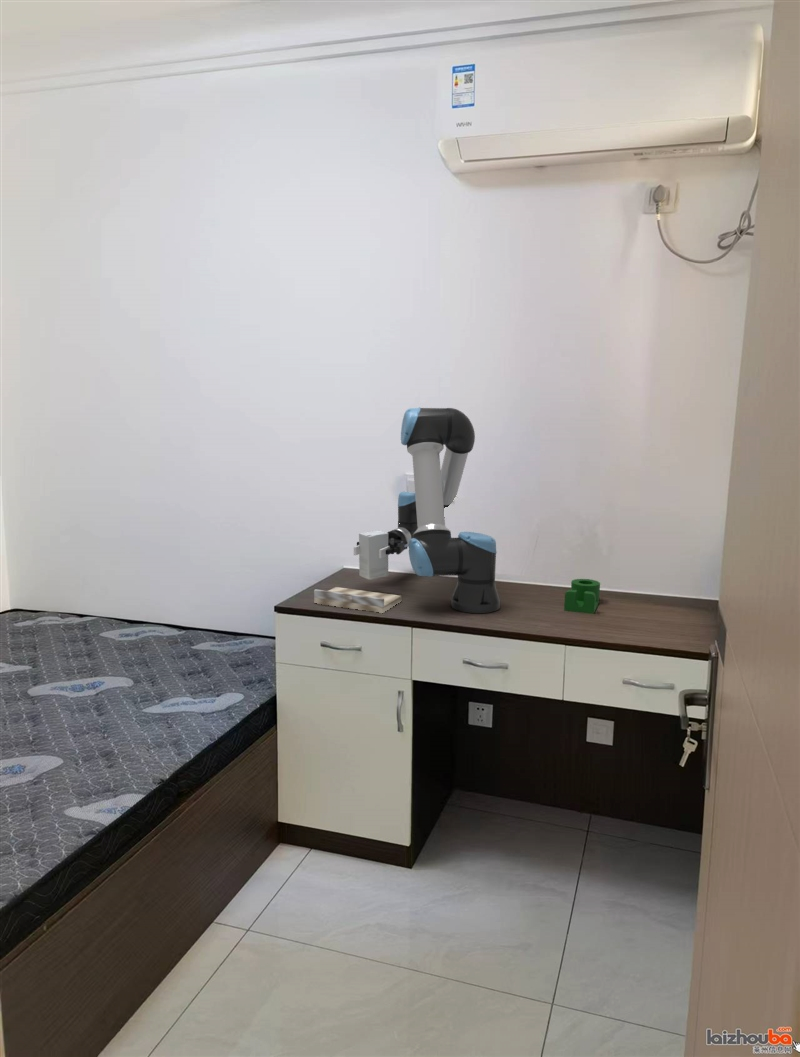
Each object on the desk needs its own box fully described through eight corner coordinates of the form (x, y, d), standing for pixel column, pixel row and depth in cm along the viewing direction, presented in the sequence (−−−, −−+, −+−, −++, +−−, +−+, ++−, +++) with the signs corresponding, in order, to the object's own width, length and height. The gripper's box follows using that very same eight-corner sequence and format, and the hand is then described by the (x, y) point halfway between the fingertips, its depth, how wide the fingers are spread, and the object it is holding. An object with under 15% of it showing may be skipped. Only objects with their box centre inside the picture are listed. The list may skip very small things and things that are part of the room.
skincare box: (378, 572, 256) (378, 529, 254) (389, 576, 252) (389, 532, 249) (358, 576, 251) (357, 532, 248) (369, 580, 247) (369, 535, 244)
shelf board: (401, 601, 244) (401, 588, 243) (382, 613, 231) (382, 599, 230) (335, 592, 253) (335, 580, 252) (313, 603, 240) (313, 590, 240)
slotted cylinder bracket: (572, 596, 253) (573, 577, 252) (600, 599, 250) (601, 580, 249) (564, 611, 236) (565, 591, 235) (593, 614, 233) (594, 594, 232)
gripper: (424, 553, 262) (397, 567, 242) (369, 547, 271) (338, 560, 251) (425, 532, 261) (397, 544, 241) (369, 526, 270) (338, 538, 249)
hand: (367, 552), depth 246 cm, fingers closed on skincare box, 8 cm apart
